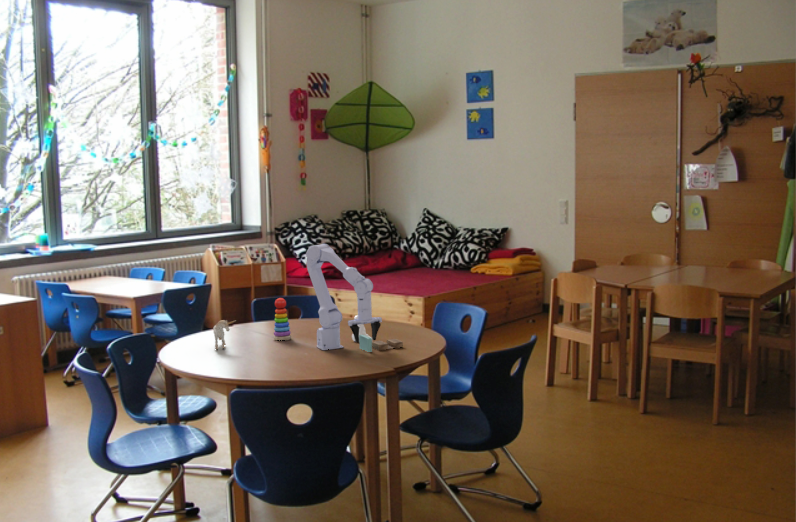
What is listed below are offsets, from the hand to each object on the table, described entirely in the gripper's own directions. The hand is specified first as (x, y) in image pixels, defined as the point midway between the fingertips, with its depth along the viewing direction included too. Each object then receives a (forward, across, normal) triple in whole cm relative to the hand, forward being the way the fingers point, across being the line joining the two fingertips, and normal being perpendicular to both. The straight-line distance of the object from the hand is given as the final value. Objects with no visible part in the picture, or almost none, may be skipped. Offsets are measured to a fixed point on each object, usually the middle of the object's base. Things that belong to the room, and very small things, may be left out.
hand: (365, 341), depth 313 cm
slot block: (+4, +10, 0) cm, 11 cm away
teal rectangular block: (+4, 0, 0) cm, 4 cm away
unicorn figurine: (+4, -49, +36) cm, 61 cm away
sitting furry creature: (+4, +6, +18) cm, 19 cm away
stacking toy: (+4, -23, +40) cm, 46 cm away
